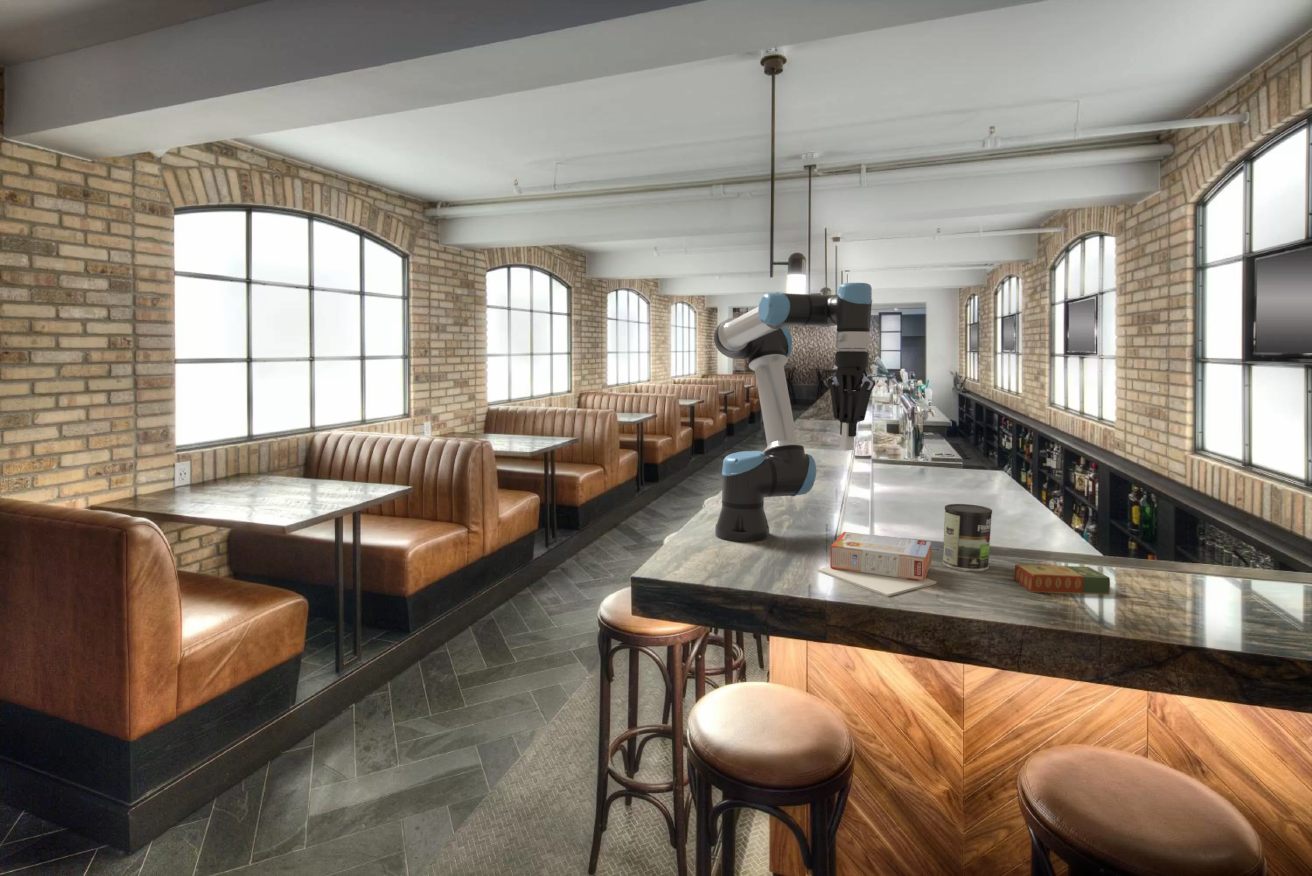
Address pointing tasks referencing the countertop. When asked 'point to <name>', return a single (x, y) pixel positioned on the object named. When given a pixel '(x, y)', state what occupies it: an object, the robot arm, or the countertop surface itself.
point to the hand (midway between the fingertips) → (847, 449)
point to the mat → (877, 581)
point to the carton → (1062, 579)
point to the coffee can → (967, 537)
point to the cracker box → (882, 555)
